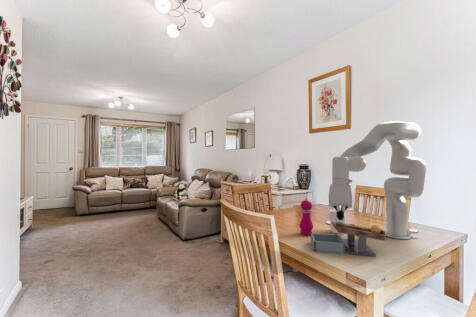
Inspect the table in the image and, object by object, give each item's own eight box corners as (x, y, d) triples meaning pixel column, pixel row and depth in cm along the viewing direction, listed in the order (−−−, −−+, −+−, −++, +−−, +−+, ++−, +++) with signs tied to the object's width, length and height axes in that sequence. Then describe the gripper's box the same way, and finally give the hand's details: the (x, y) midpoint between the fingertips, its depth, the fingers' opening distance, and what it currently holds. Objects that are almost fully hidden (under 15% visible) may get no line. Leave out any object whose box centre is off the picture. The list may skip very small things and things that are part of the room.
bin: (338, 244, 110) (338, 234, 110) (345, 254, 98) (345, 243, 98) (310, 242, 113) (310, 232, 113) (314, 251, 101) (314, 241, 101)
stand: (361, 241, 114) (361, 224, 114) (375, 256, 96) (375, 236, 96) (339, 240, 116) (339, 223, 116) (350, 254, 98) (350, 234, 98)
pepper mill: (297, 232, 128) (297, 196, 128) (309, 232, 128) (310, 196, 129) (302, 236, 121) (302, 198, 121) (315, 236, 121) (315, 198, 121)
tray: (372, 230, 111) (373, 223, 111) (385, 241, 97) (386, 232, 97) (331, 223, 115) (332, 216, 115) (338, 232, 100) (339, 224, 100)
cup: (343, 229, 133) (343, 209, 133) (348, 234, 124) (349, 212, 124) (327, 229, 134) (327, 209, 134) (331, 234, 125) (331, 212, 125)
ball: (377, 234, 103) (379, 225, 103) (381, 237, 99) (383, 228, 99) (368, 231, 103) (370, 223, 103) (371, 234, 100) (373, 225, 99)
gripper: (354, 181, 113) (354, 218, 113) (323, 180, 116) (322, 216, 116) (359, 183, 106) (359, 222, 106) (325, 182, 109) (325, 220, 109)
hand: (340, 219), depth 111 cm, fingers closed
